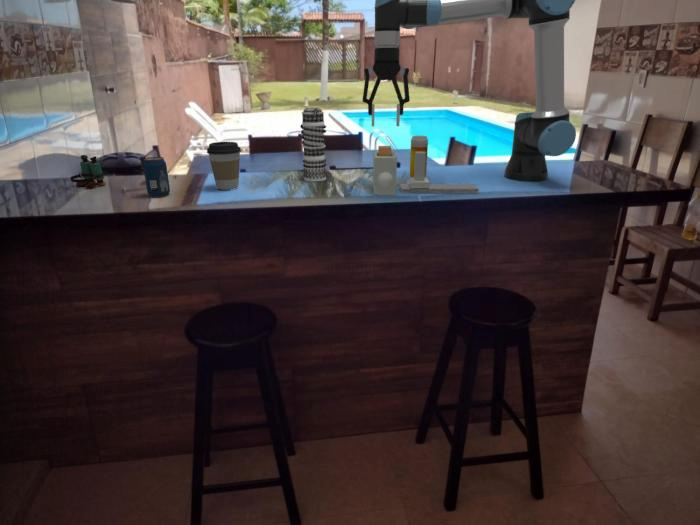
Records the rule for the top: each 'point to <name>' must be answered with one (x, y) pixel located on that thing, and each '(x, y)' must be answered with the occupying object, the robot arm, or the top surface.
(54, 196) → the top surface
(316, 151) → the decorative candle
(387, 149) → the button
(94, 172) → the binoculars
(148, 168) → the soda can
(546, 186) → the top surface
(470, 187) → the rail
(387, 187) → the white block
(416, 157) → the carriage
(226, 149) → the coffee cup
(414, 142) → the beer can
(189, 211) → the top surface
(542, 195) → the top surface
